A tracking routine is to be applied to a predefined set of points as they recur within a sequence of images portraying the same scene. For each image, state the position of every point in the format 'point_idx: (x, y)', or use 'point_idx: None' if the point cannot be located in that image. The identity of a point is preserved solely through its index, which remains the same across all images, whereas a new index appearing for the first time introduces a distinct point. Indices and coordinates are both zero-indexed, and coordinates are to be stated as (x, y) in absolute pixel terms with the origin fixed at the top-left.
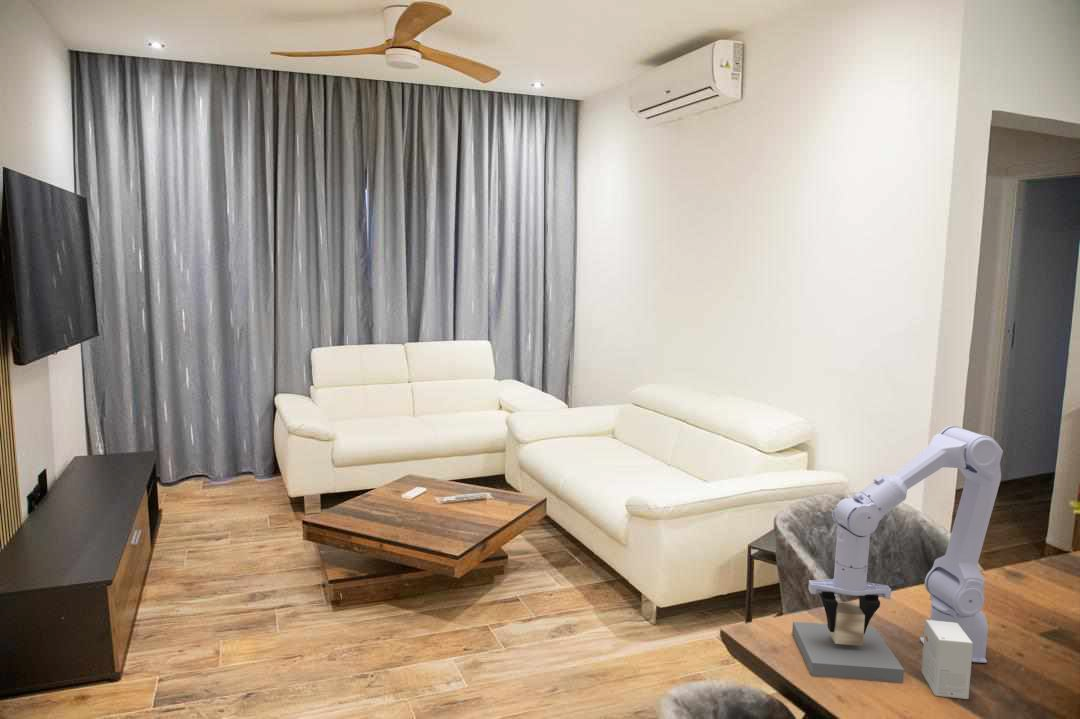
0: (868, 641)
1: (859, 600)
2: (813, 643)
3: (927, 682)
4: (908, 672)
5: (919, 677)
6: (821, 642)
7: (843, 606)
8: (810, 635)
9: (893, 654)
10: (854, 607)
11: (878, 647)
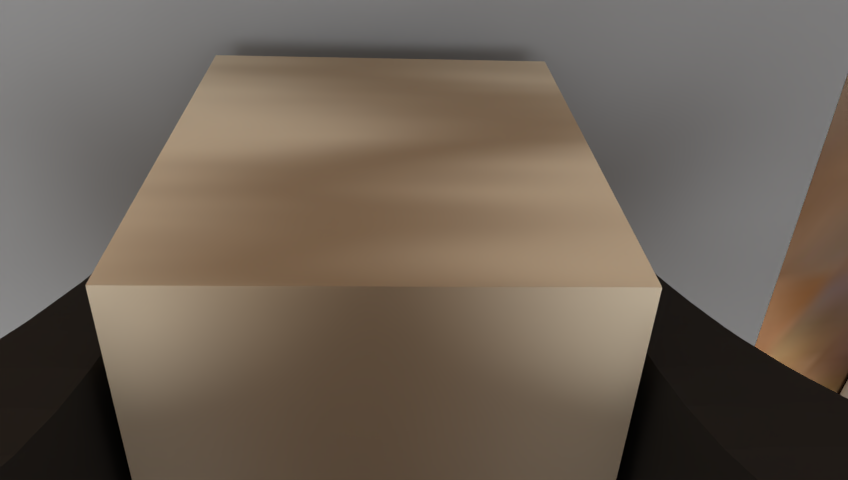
0: (661, 98)
1: (698, 448)
2: (52, 207)
3: (841, 394)
4: (801, 287)
5: (837, 334)
6: (137, 180)
7: (329, 434)
8: (20, 37)
9: (767, 301)
10: (530, 437)
11: (700, 203)
